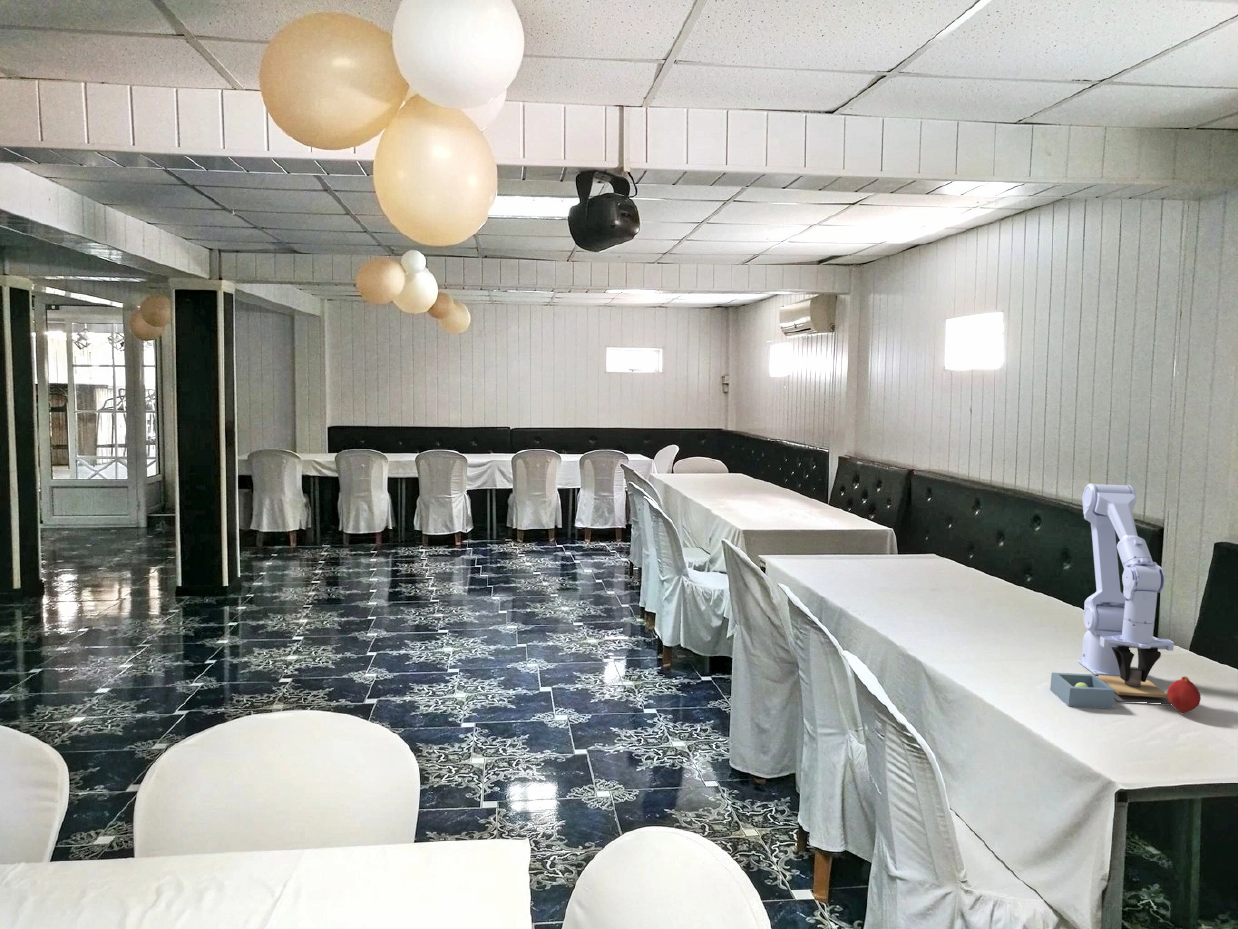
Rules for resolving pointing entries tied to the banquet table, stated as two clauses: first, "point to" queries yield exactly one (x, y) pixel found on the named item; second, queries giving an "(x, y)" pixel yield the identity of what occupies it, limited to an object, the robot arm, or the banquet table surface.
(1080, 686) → the lime
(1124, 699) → the mat
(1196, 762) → the banquet table surface
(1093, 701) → the blue-grey square box
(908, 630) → the banquet table surface
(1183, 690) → the pomegranate
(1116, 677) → the lid
